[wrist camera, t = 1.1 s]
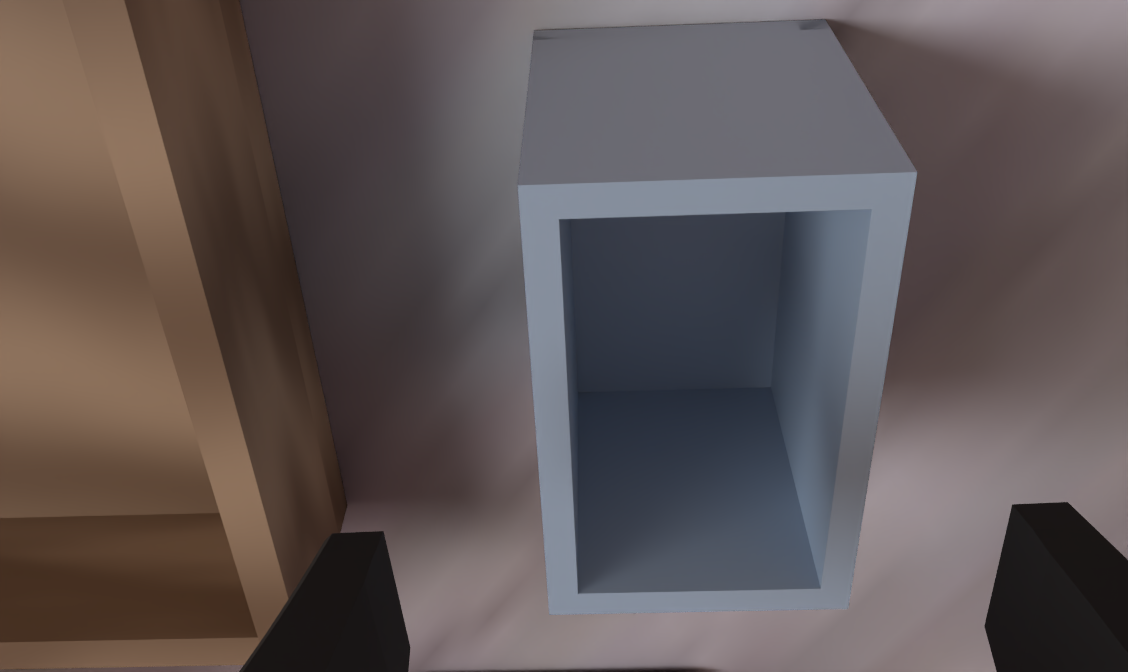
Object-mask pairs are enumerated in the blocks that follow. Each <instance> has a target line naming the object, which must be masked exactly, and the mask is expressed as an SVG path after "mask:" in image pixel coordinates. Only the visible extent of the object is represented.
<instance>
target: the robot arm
mask: <svg viewBox="0 0 1128 672" xmlns="http://www.w3.org/2000/svg"><path fill="white" fill-rule="evenodd" d="M985 629H986V633H987V637H988V641H989V644H990V648H991V652H992V656H993V659H994V663H995V667H996V670H997V672H1128V560H1127V559H1126V558H1125V557H1124V556H1123V555H1122V554H1121V553H1120V552H1119V551H1118V550H1117V549H1116V548H1115V547H1114V546H1113V545H1112V544H1111V543H1110V542H1109V541H1108V540H1106V539H1105V538H1104V537H1103V536H1102V535H1101V534H1100V533H1099V532H1098V531H1097V530H1096V529H1095V528H1094V527H1093V526H1092V525H1091V524H1090V523H1089V522H1088V521H1087V520H1086V519H1085V518H1084V517H1083V516H1081V515H1080V514H1079V513H1078V512H1077V511H1076V510H1075V509H1074V508H1073V507H1072V506H1071V505H1070V504H1069V503H1068V502H1061V503H1038V504H1014V505H1012V509H1011V513H1010V517H1009V522H1008V526H1007V530H1006V535H1005V539H1004V544H1003V548H1002V552H1001V557H1000V561H999V565H998V570H997V574H996V578H995V583H994V587H993V592H992V596H991V600H990V605H989V609H988V613H987V618H986V622H985ZM409 656H410V644H409V640H408V636H407V631H406V627H405V623H404V618H403V614H402V610H401V605H400V601H399V597H398V592H397V588H396V584H395V579H394V575H393V571H392V566H391V562H390V558H389V553H388V549H387V545H386V540H385V536H384V532H383V531H379V532H355V533H332V534H331V535H330V536H329V537H328V538H327V539H326V540H325V541H324V543H323V544H322V546H321V548H320V549H319V551H318V553H317V554H316V556H315V557H314V559H313V561H312V562H311V564H310V566H309V567H308V569H307V571H306V572H305V574H304V575H303V577H302V579H301V580H300V582H299V583H298V585H297V587H296V588H295V590H294V591H293V593H292V594H291V596H290V598H289V599H288V601H287V602H286V604H285V605H284V607H283V608H282V610H281V611H280V613H279V615H278V616H277V618H276V619H275V621H274V622H273V624H272V625H271V627H270V628H269V630H268V631H267V633H266V634H265V636H264V637H263V638H262V640H261V641H260V643H259V644H258V646H257V647H256V649H255V650H254V651H253V653H252V654H251V656H250V657H249V659H248V660H247V661H246V663H245V664H244V666H243V667H242V669H241V670H240V671H239V672H408V668H409Z"/></svg>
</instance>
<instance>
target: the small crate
mask: <svg viewBox="0 0 1128 672" xmlns="http://www.w3.org/2000/svg"><path fill="white" fill-rule="evenodd" d="M916 177H917V171H916V169H915V167H914V166H913V164H912V162H911V161H910V159H909V157H908V156H907V154H906V152H905V151H904V149H903V148H902V146H901V144H900V143H899V141H898V139H897V138H896V136H895V134H894V133H893V131H892V129H891V128H890V126H889V124H888V123H887V121H886V119H885V118H884V116H883V114H882V113H881V111H880V109H879V108H878V106H877V104H876V103H875V101H874V99H873V98H872V96H871V94H870V93H869V91H868V90H867V88H866V86H865V85H864V83H863V81H862V80H861V78H860V76H859V75H858V73H857V71H856V70H855V68H854V66H853V65H852V63H851V61H850V60H849V58H848V56H847V55H846V53H845V51H844V50H843V48H842V46H841V45H840V43H839V41H838V40H837V38H836V36H835V35H834V33H833V32H832V30H831V28H830V27H829V25H828V23H827V22H826V20H825V19H824V20H798V21H772V22H745V23H719V24H693V25H667V26H641V27H615V28H588V29H562V30H536V31H534V36H533V45H532V55H531V64H530V74H529V83H528V92H527V102H526V111H525V120H524V130H523V139H522V149H521V158H520V167H519V177H518V198H519V211H520V225H521V238H522V252H523V265H524V279H525V293H526V306H527V320H528V333H529V347H530V360H531V374H532V387H533V401H534V414H535V428H536V441H537V455H538V468H539V482H540V495H541V509H542V522H543V536H544V549H545V563H546V576H547V590H548V603H549V615H563V614H614V613H664V612H715V611H765V610H816V609H848V606H849V600H850V594H851V587H852V581H853V575H854V568H855V562H856V556H857V549H858V543H859V537H860V531H861V524H862V518H863V512H864V505H865V499H866V493H867V486H868V480H869V474H870V468H871V461H872V455H873V449H874V442H875V436H876V430H877V423H878V417H879V411H880V404H881V398H882V392H883V386H884V379H885V373H886V367H887V360H888V354H889V348H890V341H891V335H892V329H893V322H894V316H895V310H896V304H897V297H898V291H899V285H900V278H901V272H902V266H903V259H904V253H905V247H906V240H907V234H908V228H909V222H910V215H911V209H912V203H913V196H914V190H915V184H916Z"/></svg>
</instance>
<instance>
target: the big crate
mask: <svg viewBox="0 0 1128 672" xmlns="http://www.w3.org/2000/svg"><path fill="white" fill-rule="evenodd" d="M346 508H347V502H346V498H345V493H344V488H343V484H342V479H341V474H340V470H339V465H338V460H337V456H336V451H335V446H334V442H333V437H332V432H331V427H330V423H329V418H328V413H327V409H326V404H325V399H324V395H323V390H322V385H321V381H320V376H319V371H318V367H317V362H316V357H315V353H314V348H313V343H312V339H311V334H310V329H309V324H308V320H307V315H306V310H305V306H304V301H303V296H302V292H301V287H300V282H299V278H298V273H297V268H296V264H295V259H294V254H293V250H292V245H291V240H290V236H289V231H288V226H287V221H286V217H285V212H284V207H283V203H282V198H281V193H280V189H279V184H278V179H277V175H276V170H275V165H274V161H273V156H272V151H271V147H270V142H269V137H268V133H267V128H266V123H265V118H264V114H263V109H262V104H261V100H260V95H259V90H258V86H257V81H256V76H255V72H254V67H253V62H252V58H251V53H250V48H249V44H248V39H247V34H246V30H245V25H244V20H243V15H242V11H241V6H240V1H239V0H0V669H45V668H99V667H153V666H208V665H244V664H245V663H246V661H247V660H248V659H249V657H250V656H251V654H252V653H253V651H254V650H255V649H256V647H257V646H258V644H259V643H260V641H261V640H262V638H263V637H264V636H265V634H266V633H267V631H268V630H269V628H270V627H271V625H272V624H273V622H274V621H275V619H276V618H277V616H278V615H279V613H280V611H281V610H282V608H283V607H284V605H285V604H286V602H287V601H288V599H289V598H290V596H291V594H292V593H293V591H294V590H295V588H296V587H297V585H298V583H299V582H300V580H301V579H302V577H303V575H304V574H305V572H306V571H307V569H308V567H309V566H310V564H311V562H312V561H313V559H314V557H315V556H316V554H317V553H318V551H319V549H320V548H321V546H322V544H323V543H324V541H325V540H326V539H327V538H328V537H329V536H330V535H331V534H332V533H340V531H341V527H342V523H343V520H344V516H345V512H346Z"/></svg>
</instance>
